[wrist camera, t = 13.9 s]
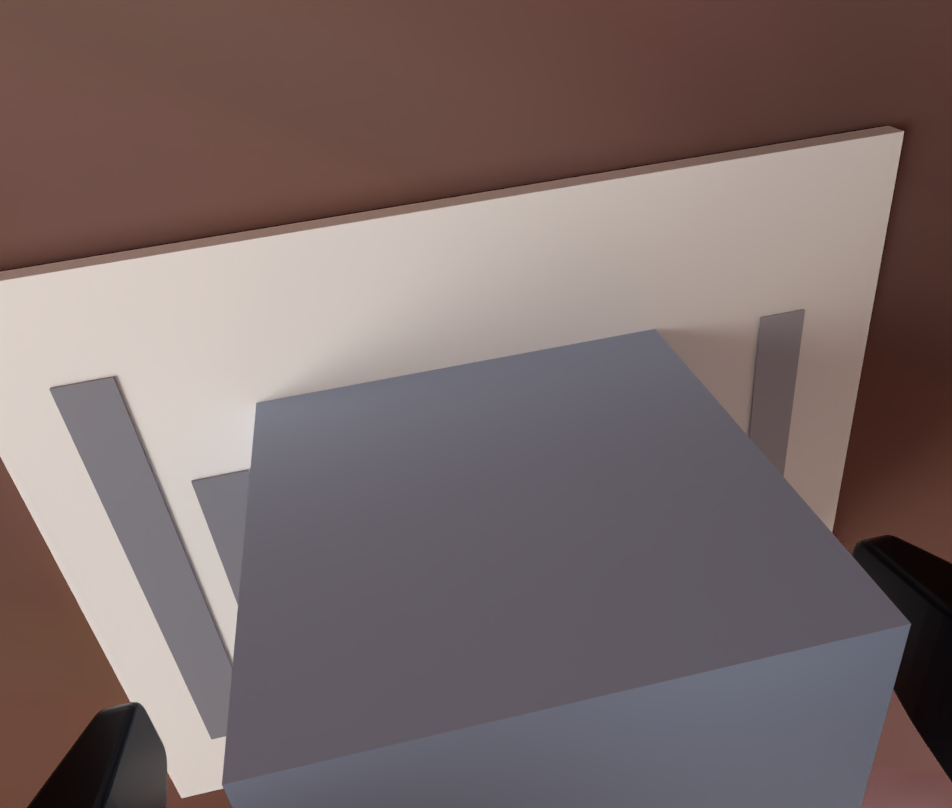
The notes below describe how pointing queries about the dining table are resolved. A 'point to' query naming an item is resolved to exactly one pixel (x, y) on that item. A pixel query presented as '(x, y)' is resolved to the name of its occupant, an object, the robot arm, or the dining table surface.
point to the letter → (408, 362)
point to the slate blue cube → (545, 600)
